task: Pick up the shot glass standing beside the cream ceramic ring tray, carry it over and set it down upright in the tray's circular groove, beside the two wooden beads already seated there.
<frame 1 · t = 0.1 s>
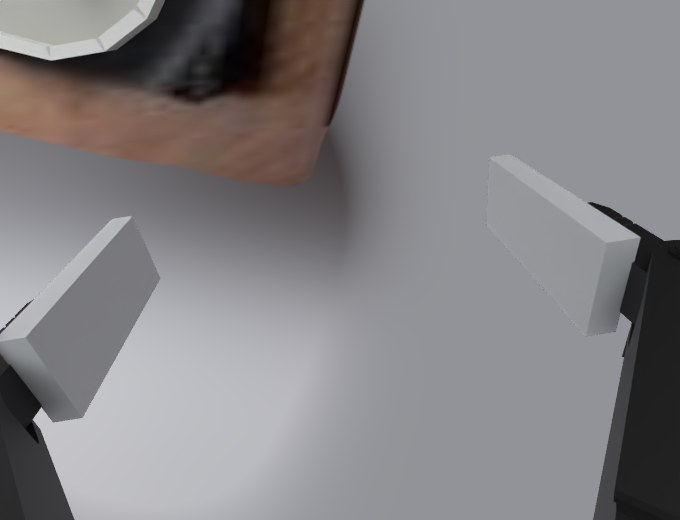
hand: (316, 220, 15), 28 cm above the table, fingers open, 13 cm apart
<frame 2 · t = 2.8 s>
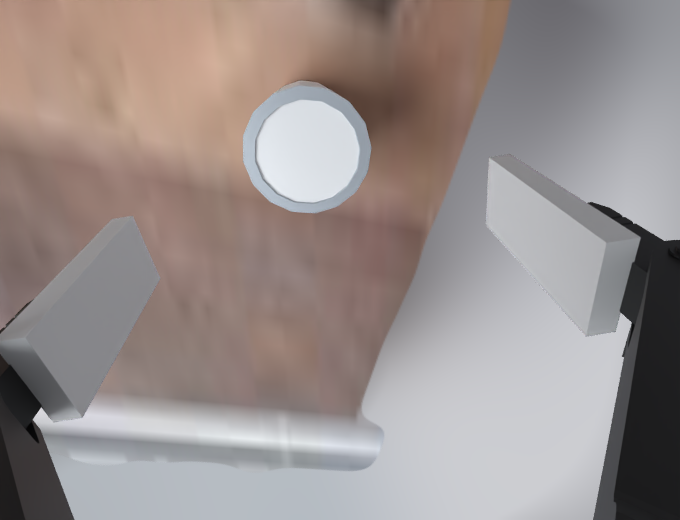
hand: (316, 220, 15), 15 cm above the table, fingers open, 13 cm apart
shot glass: (305, 124, 28), on the table
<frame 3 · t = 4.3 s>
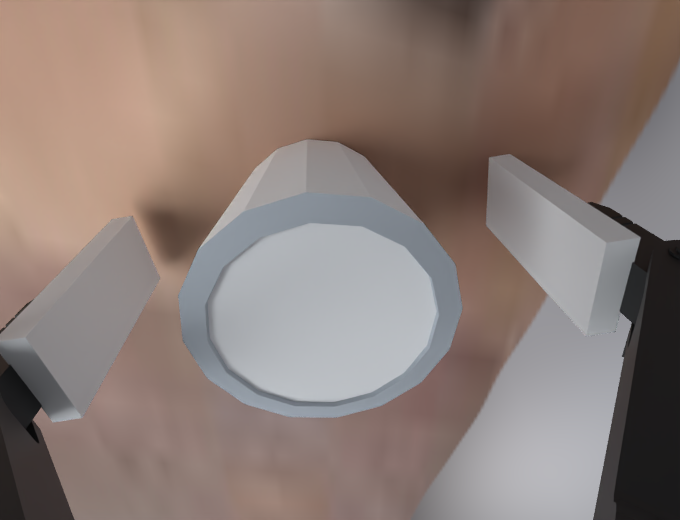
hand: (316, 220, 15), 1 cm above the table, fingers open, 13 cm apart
shot glass: (316, 209, 16), on the table
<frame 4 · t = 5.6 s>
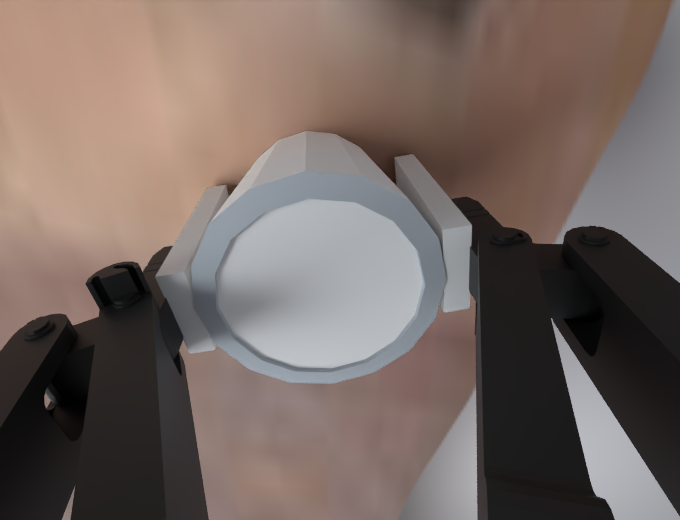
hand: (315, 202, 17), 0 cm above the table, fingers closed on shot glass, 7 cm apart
shot glass: (314, 198, 17), on the table, touching gripper
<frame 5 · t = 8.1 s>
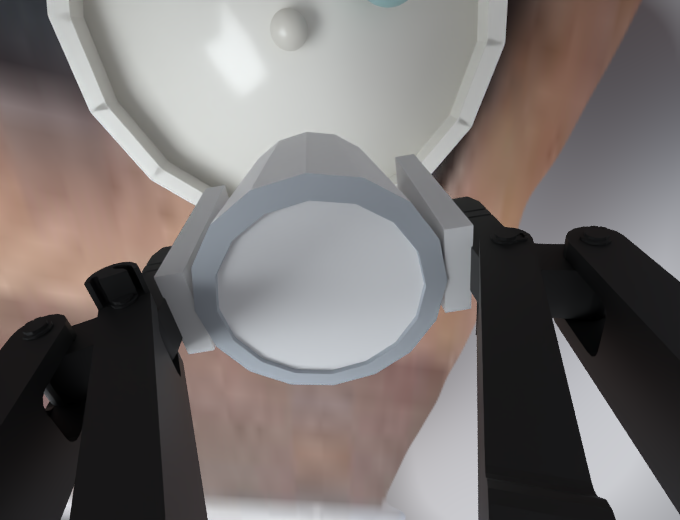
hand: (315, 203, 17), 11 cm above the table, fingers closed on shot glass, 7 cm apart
shot glass: (315, 198, 17), point 11 cm above the table, touching gripper
ring tray: (290, 29, 23), on the table
when the fingers open (2 cm above the table, at t = 10.3 s): shot glass drops 1 cm, resting on ring tray.
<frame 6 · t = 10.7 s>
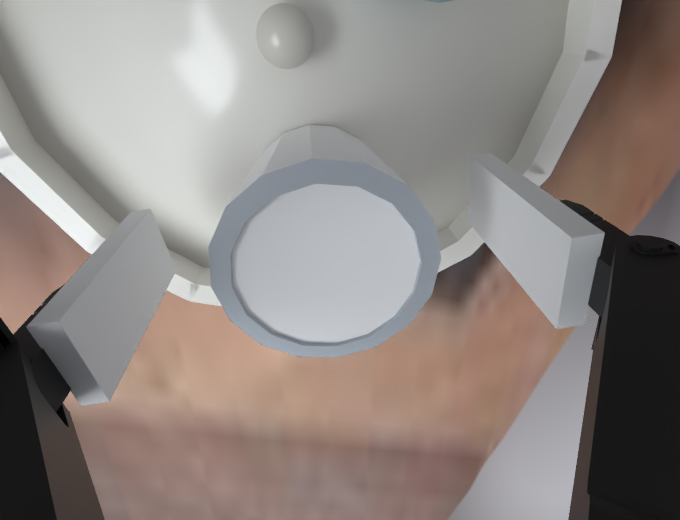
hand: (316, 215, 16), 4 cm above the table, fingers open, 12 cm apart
shot glass: (317, 188, 18), point 1 cm above the table, touching ring tray
ring tray: (287, 35, 16), on the table
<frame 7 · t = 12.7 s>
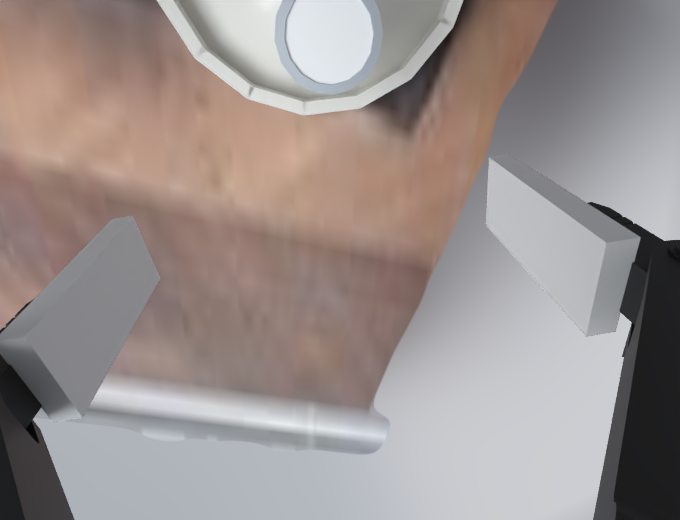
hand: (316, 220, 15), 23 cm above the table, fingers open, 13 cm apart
shot glass: (324, 34, 32), point 1 cm above the table, touching ring tray
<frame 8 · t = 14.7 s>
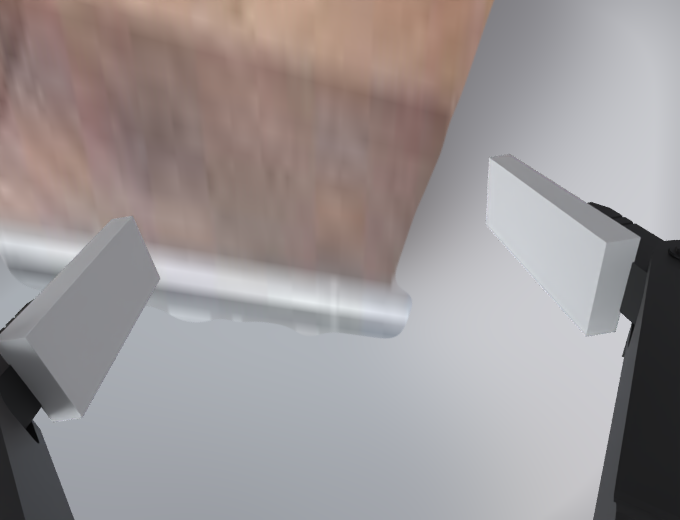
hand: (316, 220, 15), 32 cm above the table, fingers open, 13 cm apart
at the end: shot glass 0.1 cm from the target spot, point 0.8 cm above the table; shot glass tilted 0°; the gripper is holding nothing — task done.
